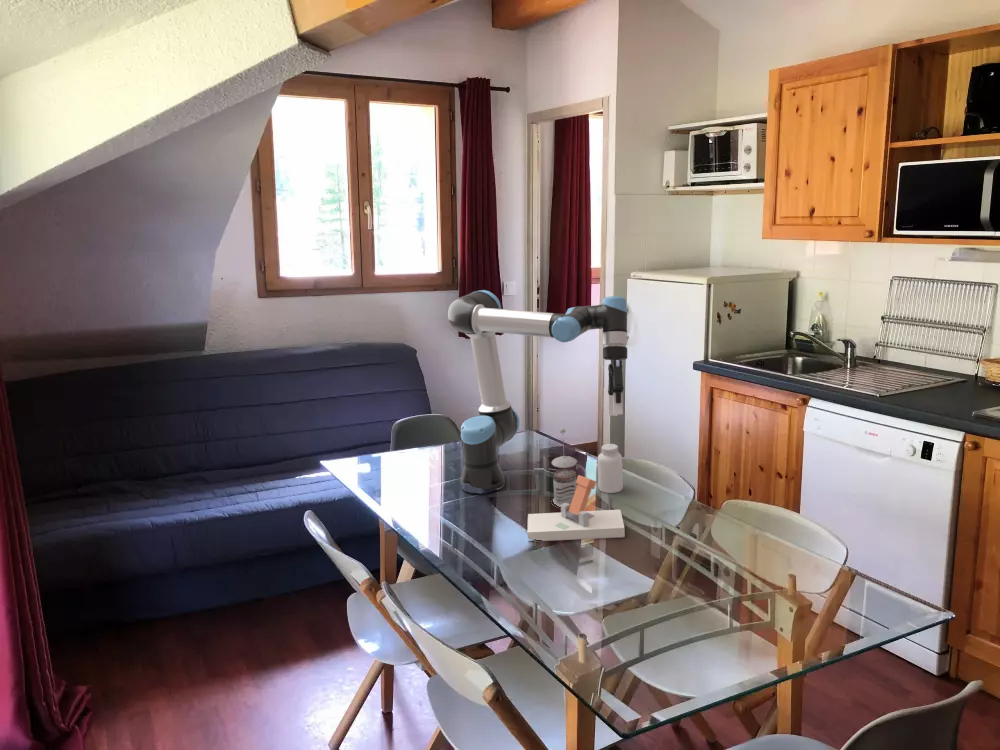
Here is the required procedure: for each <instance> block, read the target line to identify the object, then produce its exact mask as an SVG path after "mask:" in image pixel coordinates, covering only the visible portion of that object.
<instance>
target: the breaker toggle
mask: <svg viewBox="0 0 1000 750" xmlns="http://www.w3.org/2000/svg"><path fill="white" fill-rule="evenodd" d="M586 477H587V476H586ZM586 477H585V476H583V475H578V474H577V480H576V483H578V485H577V488H576V491H575V494H574V496H573V499H572V502H571V505H570V508H569V510H567V512H566V516H567V517H569V518H571V519H573V520H575V521H577V522H579V515H578V512H581V511H583V510H584V511H586V510H585V509H586V506H587V503H588V501H589V498H590V495H591V492H592V490H595V488H596V485H597V481H596V480H594V479H592V478H588V477H587V478H586Z"/></svg>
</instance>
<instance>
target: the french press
mask: <svg viewBox="0 0 1000 750" xmlns="http://www.w3.org/2000/svg"><path fill="white" fill-rule="evenodd" d="M559 433H561V434H562V435H564V433H566V429H565V428H564V427H561V428H560V429H559ZM564 444H565V442H564V440H562V451H563V453H565V447H564V446H565V445H564ZM577 463H578V460H577V459H576V458H574V457H572V456H568V455H567V456H566V455H561V456H558V457H555V458H554V459H552V461H551V465H552V466H553V467H555V468H558V470H556V471H555V472H554V473H553V479H552V480H553V496H554V497H553V499H552V500H553V502H554V504H556V505H557V506H559V507H561V504H563V503H565V502H566V503H568V504H570V505H571V502H572V499H573V496H574V494H575V491H576V488H577V485H578V483H576V480H577V477H578V475H577V472H576V471H575V470H574V469H569V468H572V467H574V466H575V467H576V470H578V468H580V469H581V470H582V471H583V472H584V475H585V476H584V477H586V478H588V477H587V470H586V469H585V467H584V466H583V465H581V464H577ZM565 481H566V482H565ZM559 507H558V508H559Z"/></svg>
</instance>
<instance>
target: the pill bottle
mask: <svg viewBox="0 0 1000 750" xmlns="http://www.w3.org/2000/svg"><path fill="white" fill-rule="evenodd" d="M623 473H624V472H623V456H622V455H621V453H620V452H619V446H618V445H617V444H614V443H605V444H603V445H602V446H601V453H599V454H598V456H597V474H598V476H597V477H598V480H597V481H598V490H600V492H602V493H604V494H616V493H620V492H621V491H622V490H623V488H624V482H623V481H624V480H623V479H624V477H623Z"/></svg>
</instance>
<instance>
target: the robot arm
mask: <svg viewBox="0 0 1000 750" xmlns="http://www.w3.org/2000/svg"><path fill="white" fill-rule="evenodd" d="M627 305H628V304H627V299H626V298H625V297H623V296H619V295H617V296H615V295H614V296H613V295H612V296H606V297H604V298H603V299H602V302H601V304H596V305H585V306H582V305H581V306H580V305H579V306H574V307H570V308H567V310H566V312H565V313H555V312H554V313H553V312H545V311H544V312H543V311H542V312H541V311H531V310H518V309H505V308H502V305H501V302H500V299H499V298H498V297H497V296H496V295H495V294H494V293H492V292H491V291H489V290H485V289H482V290H476V291H472V292H470V293H468V294H466V295H463V296H460V297H458V298H456V299H454V301H452V303H450V305H449V307H448V309H447V319H448V322H449V324H450V326H451V327H452V328H453V329H454V330H455V331H458V332H459V333H463V334H465V335H466V336H467V337H469V339H470V342H471V348H472V355H473V360H474V366H475V367H474V368H475V373H476V378H477V383H478V385H477V386H478V388H479V389H478V390H479V395H480V401H481V404H480V406H479V407H478V414H479V415H476V416H474V417H470V418H467V419H466V420H464V421H463V423H462V424H461V427H460V439H461V448H462V459H463V469H462V473H461V478H460V482H461V481H462V482H464V483H469V484H470V486H472V487H476V488H482V489H495V488H500V487H502V486H503V485H504V484H505V485H506V479H505V478H506V477H505V476H504V473H503V471H502V469H501V465H500V464H499V459H498V457H499V456H498V449H499V448H500V447H501V446H503V445H504V444H505V443H507V442H509V441H510V440H512V439H513V437H514V436H515V435H516V434H517V433H518V431H519V429H520V425H521V424H520V418H519V415H518V413H517V412H516V411H515V410H514V408H513V407H512V403H511V402H510V401H508V400H507V399H506V398H507V397H506V392H505V386H504V380H503V375H502V369H501V363H500V357H499V349H498V343H497V337H496V333H500V334H510V335H521V336H529V337H530V336H533V337H541V338H542V337H543V338H550V339H551V338H554V339H555V340H557V341H558V342H559V343H560V342H561V343H568V342H572V341H574V340H575V339H576V338H578V337H579V336H581V335H583V334H584V333H586V332H587V331H591V330H602V345H603V348H602V358H603V360H605V361H610V363H609V364H608V368H607V371H608V384H607V385H608V386H607V387H608V389H607V393H608V417H614V416H615V417H618V415H623V414H624V410H623V407H624V403H623V395H624V393H623V391H624V379H623V377H624V376H623V360H626V359H628V347H627V345H628V340H629V339H630V336H629V335H628V306H627ZM505 485H504V486H505Z"/></svg>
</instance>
